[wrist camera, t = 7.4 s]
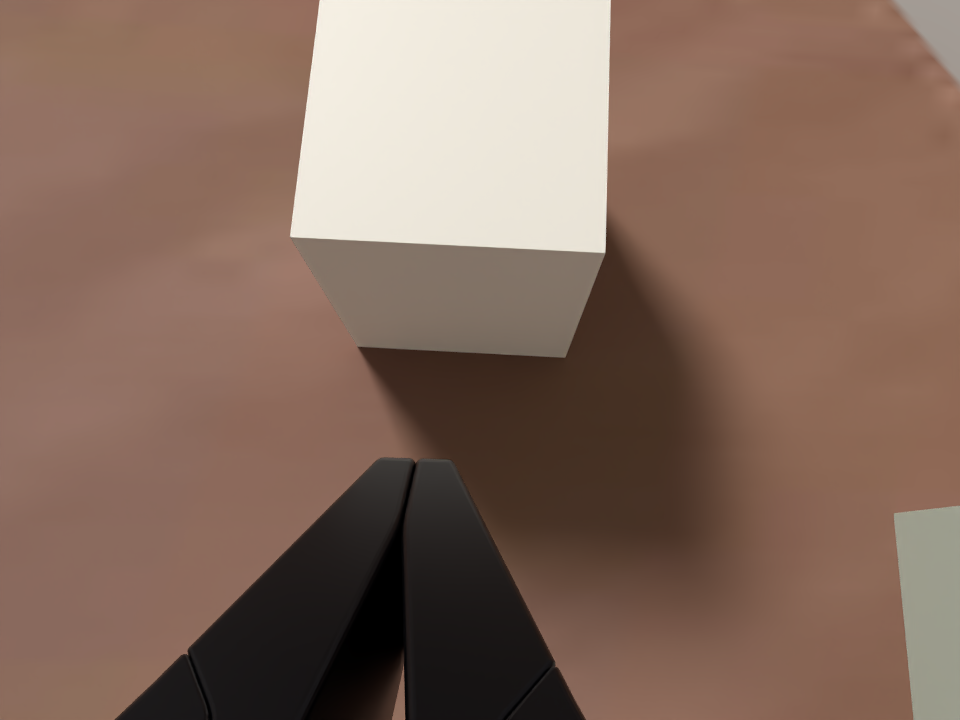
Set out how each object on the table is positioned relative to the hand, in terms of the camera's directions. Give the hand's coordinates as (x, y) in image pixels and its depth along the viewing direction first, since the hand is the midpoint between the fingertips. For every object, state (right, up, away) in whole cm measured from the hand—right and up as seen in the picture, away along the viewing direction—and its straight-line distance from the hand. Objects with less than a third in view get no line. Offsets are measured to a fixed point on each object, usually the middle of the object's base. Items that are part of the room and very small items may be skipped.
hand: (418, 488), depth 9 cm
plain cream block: (0, +5, +14) cm, 15 cm away
